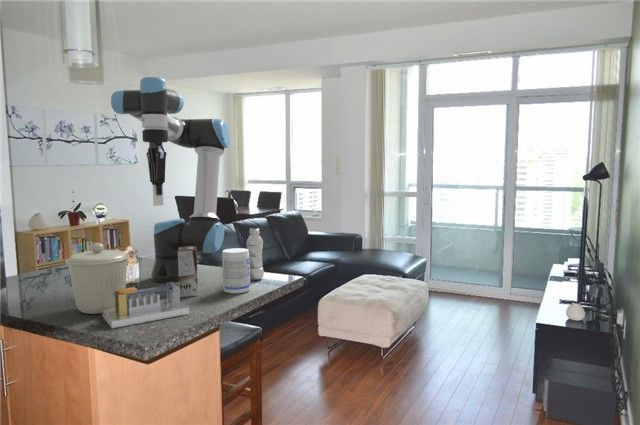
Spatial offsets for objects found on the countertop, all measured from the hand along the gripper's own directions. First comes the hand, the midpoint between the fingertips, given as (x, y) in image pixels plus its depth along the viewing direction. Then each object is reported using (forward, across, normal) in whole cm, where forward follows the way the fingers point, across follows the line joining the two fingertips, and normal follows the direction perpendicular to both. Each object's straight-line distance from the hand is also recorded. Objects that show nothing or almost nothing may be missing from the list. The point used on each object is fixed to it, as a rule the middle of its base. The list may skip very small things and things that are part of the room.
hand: (158, 205), depth 153 cm
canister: (+33, -8, -17) cm, 38 cm away
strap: (+26, +6, -7) cm, 27 cm away
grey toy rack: (+32, +6, -7) cm, 34 cm away
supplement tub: (+33, -3, +27) cm, 42 cm away
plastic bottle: (+33, -14, +40) cm, 53 cm away
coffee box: (+33, -10, +12) cm, 36 cm away
